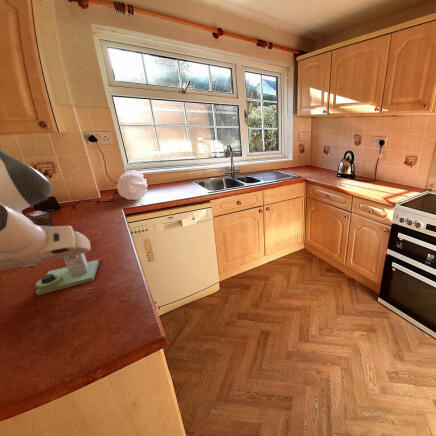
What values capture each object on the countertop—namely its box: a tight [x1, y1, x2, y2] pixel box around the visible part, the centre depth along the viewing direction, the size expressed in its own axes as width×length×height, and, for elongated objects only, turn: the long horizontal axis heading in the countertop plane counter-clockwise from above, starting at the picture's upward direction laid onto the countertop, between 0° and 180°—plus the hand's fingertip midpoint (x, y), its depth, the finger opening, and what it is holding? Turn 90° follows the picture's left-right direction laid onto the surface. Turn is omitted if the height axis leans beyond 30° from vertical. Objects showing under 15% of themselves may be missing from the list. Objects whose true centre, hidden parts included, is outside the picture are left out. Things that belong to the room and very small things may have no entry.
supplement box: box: [24, 210, 55, 226], centre depth 101 cm, size 9×5×16 cm, turn 65°
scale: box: [35, 259, 100, 296], centre depth 83 cm, size 14×14×3 cm
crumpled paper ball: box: [115, 169, 148, 201], centre depth 171 cm, size 18×18×25 cm
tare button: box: [40, 274, 55, 284], centre depth 77 cm, size 3×3×2 cm
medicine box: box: [63, 253, 88, 277], centre depth 83 cm, size 8×4×9 cm, turn 39°
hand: (54, 260), depth 71 cm, fingers open, 8 cm apart
